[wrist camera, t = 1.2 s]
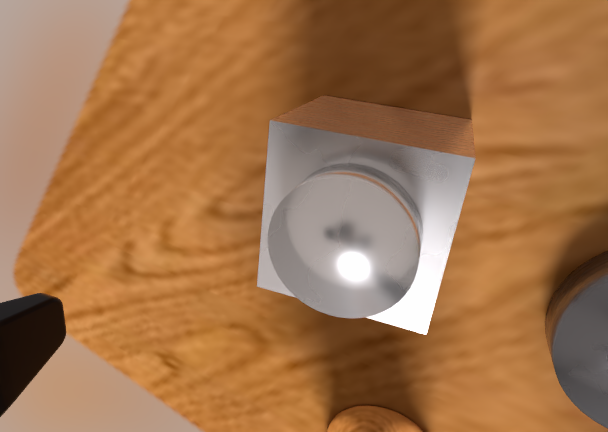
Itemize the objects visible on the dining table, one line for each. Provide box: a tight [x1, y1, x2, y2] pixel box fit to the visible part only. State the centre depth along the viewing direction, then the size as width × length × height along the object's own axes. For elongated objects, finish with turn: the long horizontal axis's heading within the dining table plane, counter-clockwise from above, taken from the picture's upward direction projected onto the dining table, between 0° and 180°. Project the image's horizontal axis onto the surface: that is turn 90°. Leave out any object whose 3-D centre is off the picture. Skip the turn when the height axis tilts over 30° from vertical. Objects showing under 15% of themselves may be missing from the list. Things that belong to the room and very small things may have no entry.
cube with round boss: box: [257, 95, 475, 335], centre depth 16 cm, size 6×6×8 cm
